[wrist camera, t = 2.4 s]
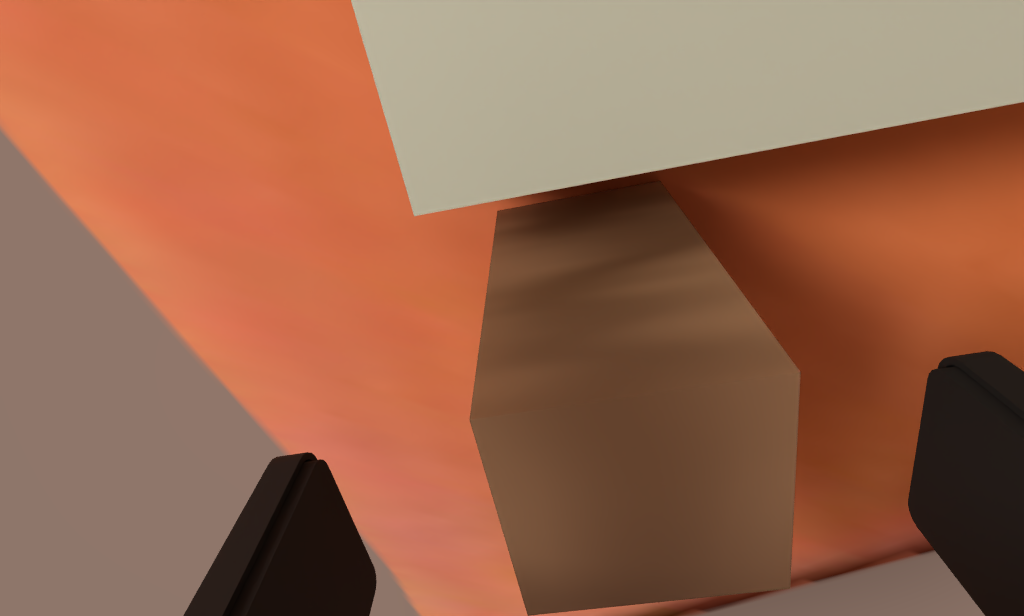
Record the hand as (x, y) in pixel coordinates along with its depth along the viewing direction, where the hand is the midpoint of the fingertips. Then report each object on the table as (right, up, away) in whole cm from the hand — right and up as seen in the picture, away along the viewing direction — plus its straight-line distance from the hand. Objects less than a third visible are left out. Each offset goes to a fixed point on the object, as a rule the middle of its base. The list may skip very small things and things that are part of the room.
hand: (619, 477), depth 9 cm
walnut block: (0, +4, +6) cm, 7 cm away
